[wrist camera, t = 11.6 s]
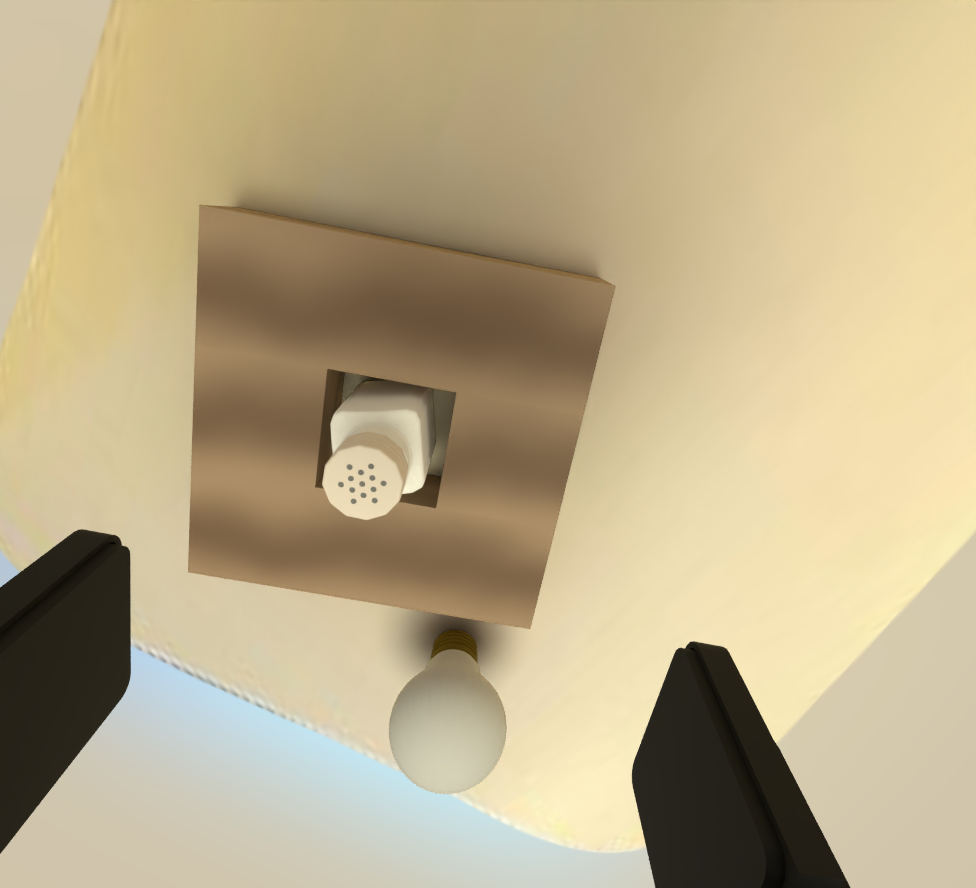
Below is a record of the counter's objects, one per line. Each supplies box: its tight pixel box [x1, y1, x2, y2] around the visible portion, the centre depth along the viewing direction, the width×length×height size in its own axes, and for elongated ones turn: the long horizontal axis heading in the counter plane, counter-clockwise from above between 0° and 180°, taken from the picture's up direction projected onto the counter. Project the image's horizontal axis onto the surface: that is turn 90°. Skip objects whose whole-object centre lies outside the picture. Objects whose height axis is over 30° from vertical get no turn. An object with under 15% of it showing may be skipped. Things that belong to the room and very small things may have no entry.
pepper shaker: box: [322, 381, 436, 520], centre depth 29 cm, size 4×4×10 cm
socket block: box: [188, 205, 615, 629], centre depth 32 cm, size 18×18×4 cm
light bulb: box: [389, 630, 506, 794], centre depth 33 cm, size 6×6×10 cm
